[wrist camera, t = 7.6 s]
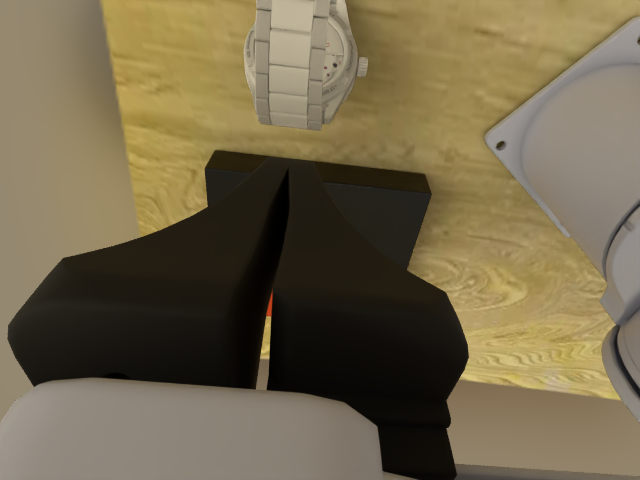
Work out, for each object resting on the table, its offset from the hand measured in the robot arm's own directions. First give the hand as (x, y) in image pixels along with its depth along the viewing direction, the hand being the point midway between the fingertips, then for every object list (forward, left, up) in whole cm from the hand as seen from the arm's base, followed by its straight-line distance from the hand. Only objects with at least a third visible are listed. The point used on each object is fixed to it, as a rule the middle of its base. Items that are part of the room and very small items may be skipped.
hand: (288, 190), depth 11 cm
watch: (+7, -8, -9) cm, 14 cm away
